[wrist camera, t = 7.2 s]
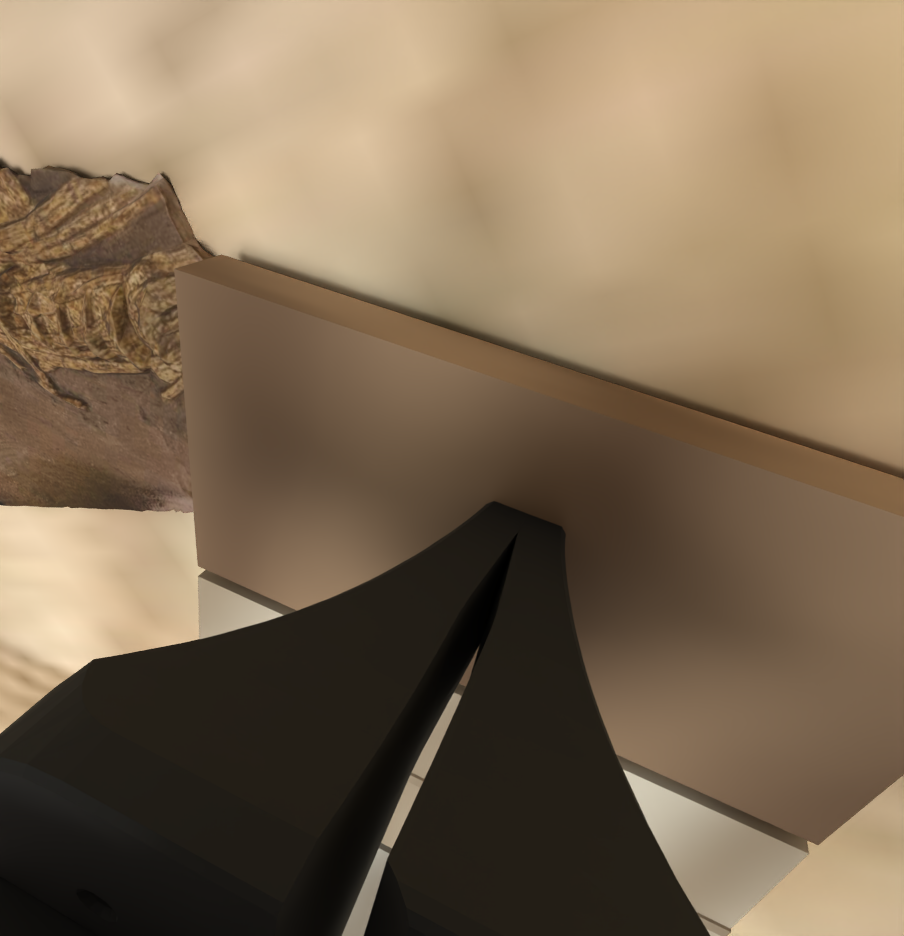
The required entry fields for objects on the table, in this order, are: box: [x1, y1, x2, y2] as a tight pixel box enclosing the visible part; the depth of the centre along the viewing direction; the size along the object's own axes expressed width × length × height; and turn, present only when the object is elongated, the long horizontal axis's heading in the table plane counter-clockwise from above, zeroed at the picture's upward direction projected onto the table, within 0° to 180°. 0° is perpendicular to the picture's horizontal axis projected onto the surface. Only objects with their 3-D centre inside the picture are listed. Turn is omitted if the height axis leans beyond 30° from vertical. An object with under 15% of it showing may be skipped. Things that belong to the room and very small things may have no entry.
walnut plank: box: [174, 255, 904, 845], centre depth 11 cm, size 14×7×1 cm, turn 78°
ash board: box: [198, 570, 809, 936], centre depth 15 cm, size 14×7×1 cm, turn 78°
